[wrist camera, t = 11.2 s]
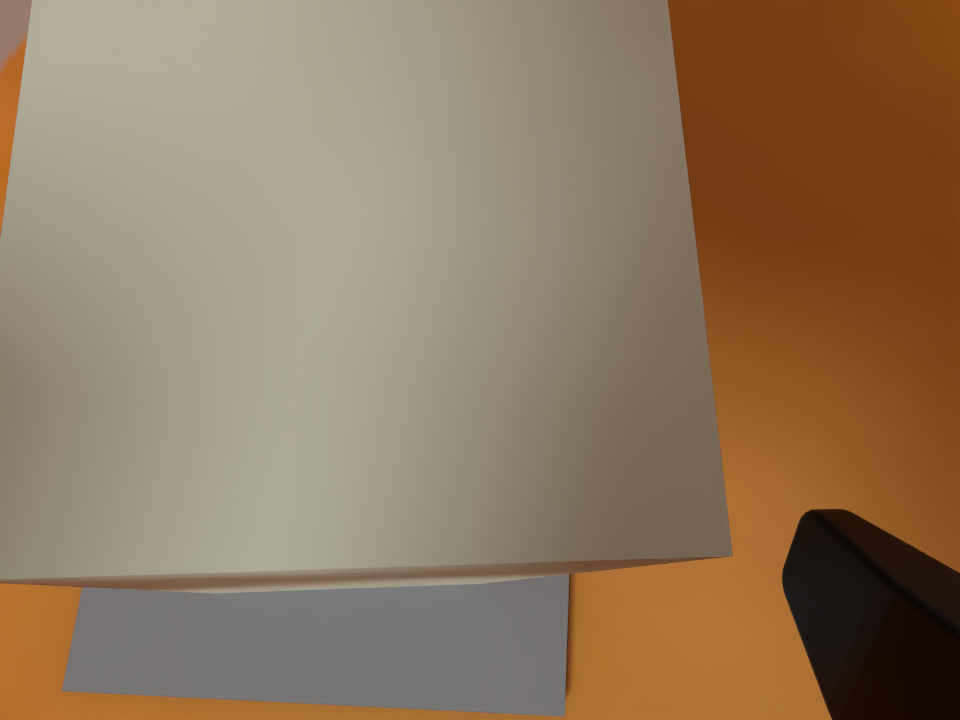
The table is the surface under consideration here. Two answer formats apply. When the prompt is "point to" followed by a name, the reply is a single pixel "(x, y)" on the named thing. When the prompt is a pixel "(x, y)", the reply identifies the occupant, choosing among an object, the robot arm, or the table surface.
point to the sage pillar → (351, 297)
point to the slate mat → (332, 646)
